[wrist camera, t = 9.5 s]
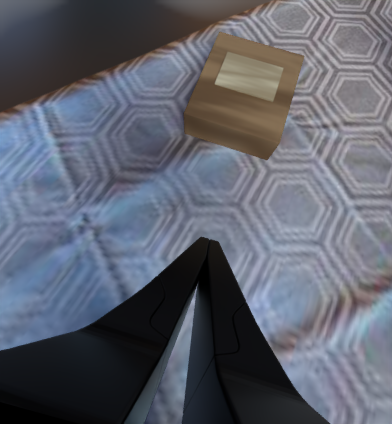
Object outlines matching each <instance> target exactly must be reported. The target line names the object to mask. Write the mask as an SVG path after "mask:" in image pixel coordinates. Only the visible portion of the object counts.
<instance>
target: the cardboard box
mask: <svg viewBox="0 0 392 424" xmlns="http://www.w3.org/2000/svg"><path fill="white" fill-rule="evenodd" d="M303 59H304V56H303V55H299V54H296V53H292V52H289V51H285V50H282V49H278V48H275V47H271V46H268V45H264V44H261V43H257V42H254V41H250V40H247V39H243V38H240V37H236V36H233V35H229V34H226V33H222V32H219V34H218V36H217V39H216V41H215V43H214V45H213V48H212V50H211V52H210V54H209V57H208V59H207V61H206V64H205V66H204V68H203V70H202V73H201V75H200V77H199V80H198V82H197V84H196V86H195V89H194V91H193V93H192V96H191V98H190V100H189V102H188V105H187V107H186V109H185V112H184V129H185V134H188V135H191V136H194V137H197V138H200V139H203V140H206V141H210V142H213V143H216V144H219V145H222V146H225V147H228V148H231V149H234V150H237V151H240V152H243V153H246V154H250V155H253V156H256V157H259V158H262V159H265V160H268V159H269V157H270V156H271V155H272V153H273V152H274V150H275V149H276V148H277V146H278V145H279V143H280V140H281V136H282V133H283V129H284V125H285V122H286V118H287V115H288V111H289V108H290V104H291V101H292V97H293V94H294V90H295V87H296V83H297V80H298V76H299V73H300V69H301V66H302V62H303Z"/></svg>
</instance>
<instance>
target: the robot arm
mask: <svg viewBox="0 0 392 424" xmlns="http://www.w3.org/2000/svg"><path fill="white" fill-rule="evenodd" d="M197 284H198V285H197ZM196 287H197V291H196V300H195V309H194V318H193V327H192V336H191V345H190V354H189V363H188V372H187V381H186V390H185V399H184V408H183V417H182V424H330V423H329V422H328V421H327V420H326V419H324V418H323V417H322V416H321V415H320V414H319V413H318V412H316V411H315V410H314V409H313V408H312V407H311V406H310V405H309V404H308V403H307V402H306V401H305V400H304V399H303V398H302V396H301V395H300V394H299V393H298V391H297V390H296V389H295V387H294V386H293V384H292V383H291V381H290V380H289V378H288V376H287V375H286V373H285V371H284V370H283V368H282V366H281V364H280V363H279V361H278V359H277V358H276V356H275V354H274V353H273V351H272V349H271V347H270V346H269V344H268V342H267V341H266V339H265V337H264V335H263V334H262V332H261V330H260V328H259V326H258V325H257V323H256V321H255V319H254V317H253V315H252V313H251V310H250V308H249V306H248V304H247V303H246V300H245V298H244V295H243V293H242V291H241V289H240V287H239V285H238V282H237V280H236V278H235V276H234V274H233V272H232V269H231V267H230V265H229V263H228V261H227V259H226V256H225V254H224V252H223V250H222V248H221V246H220V243H219V242H218V241H215V240H209V239H208V238H205V237H200V238H199V239H197V240H196V241H195V242H194V243H193V244H192V245H191V246H190V247H189V248H187V249H186V250H185V251H184V252H183V253H182V254H181V255H180V256H179V257H177V258H176V259H175V260H174V261H173V262H172V263H171V264H170V265H169V266H167V267H166V268H165V269H164V270H163V271H162V272H161V273H160V274H159V275H158V276H156V277H155V278H154V279H153V280H152V281H151V282H149V283H148V284H147V285H146V286H145V287H143V288H142V289H141V290H140V291H138V292H137V293H136V294H134V295H133V296H131V297H130V298H129V299H127V300H126V301H124V302H123V303H121V304H120V305H118V306H117V307H116V308H114V309H113V310H111V311H110V312H108V313H107V314H105V315H104V316H103V317H101V318H100V319H98V320H97V321H95V322H93V323H92V324H90V325H88V326H86V327H84V328H82V329H79V330H77V331H74V332H70V333H66V334H62V335H59V336H55V337H51V338H47V339H44V340H40V341H36V342H32V343H28V344H25V345H21V346H17V347H13V348H10V349H5V350H1V351H0V424H144V422H145V420H146V417H147V414H148V412H149V409H150V407H151V404H152V402H153V399H154V396H155V394H156V391H157V389H158V386H159V383H160V381H161V378H162V376H163V373H164V370H165V368H166V365H167V363H168V360H169V357H170V355H171V352H172V350H173V347H174V345H175V342H176V339H177V337H178V334H179V332H180V329H181V326H182V324H183V321H184V319H185V316H186V313H187V311H188V308H189V306H190V303H191V300H192V298H193V295H194V293H195V290H196Z"/></svg>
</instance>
